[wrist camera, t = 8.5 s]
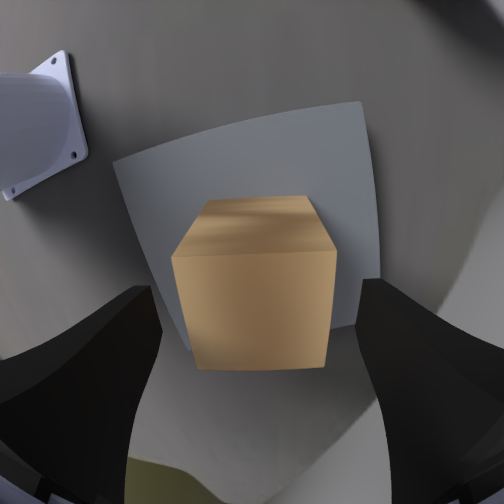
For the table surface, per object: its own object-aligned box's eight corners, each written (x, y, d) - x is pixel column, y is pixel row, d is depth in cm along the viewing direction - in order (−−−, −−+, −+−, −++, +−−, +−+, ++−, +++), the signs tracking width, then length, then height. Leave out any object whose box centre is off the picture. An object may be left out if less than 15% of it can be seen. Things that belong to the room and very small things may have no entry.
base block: (196, 322, 20) (187, 351, 17) (136, 154, 15) (112, 162, 13) (366, 291, 19) (379, 317, 16) (343, 104, 14) (360, 100, 11)
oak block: (218, 284, 15) (197, 369, 10) (208, 200, 13) (171, 257, 8) (305, 281, 15) (324, 367, 9) (306, 195, 13) (337, 250, 8)
